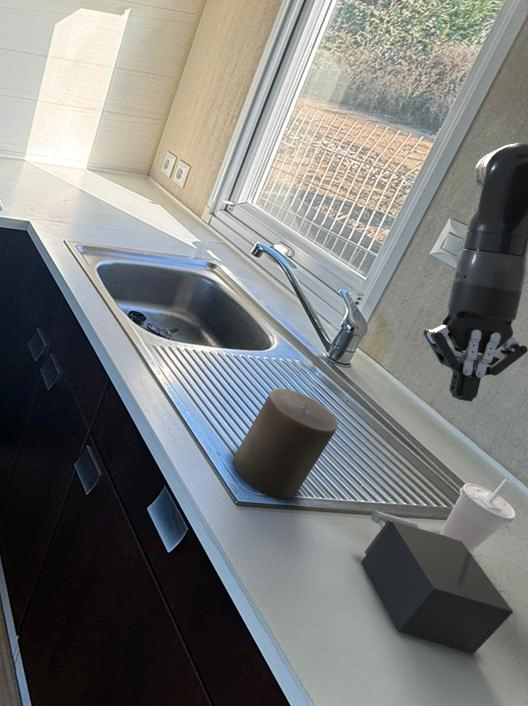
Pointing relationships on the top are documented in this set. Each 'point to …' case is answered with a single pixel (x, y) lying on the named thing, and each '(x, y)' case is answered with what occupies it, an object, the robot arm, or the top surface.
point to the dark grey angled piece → (385, 521)
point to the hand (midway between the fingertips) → (461, 399)
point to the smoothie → (477, 515)
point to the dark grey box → (434, 588)
